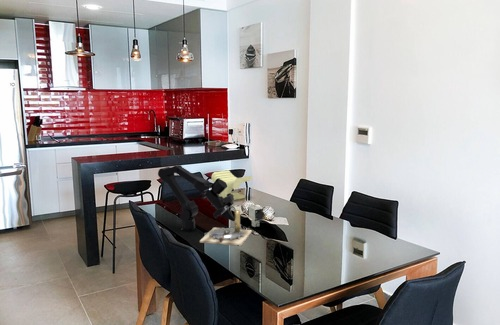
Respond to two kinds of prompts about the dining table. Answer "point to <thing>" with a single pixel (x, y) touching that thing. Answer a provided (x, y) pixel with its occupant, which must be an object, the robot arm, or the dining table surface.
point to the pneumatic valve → (255, 215)
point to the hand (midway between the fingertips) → (234, 220)
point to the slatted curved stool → (230, 183)
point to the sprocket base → (227, 242)
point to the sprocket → (229, 230)
